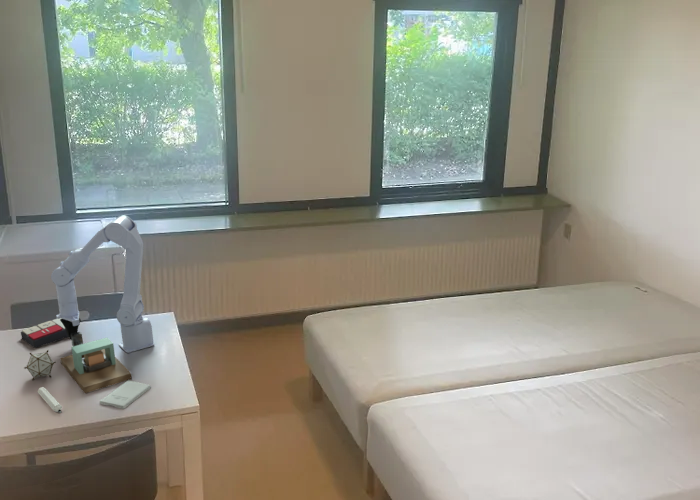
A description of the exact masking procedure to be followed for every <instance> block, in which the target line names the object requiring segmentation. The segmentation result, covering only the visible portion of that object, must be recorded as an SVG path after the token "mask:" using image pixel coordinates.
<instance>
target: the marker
mask: <svg viewBox="0 0 700 500" xmlns="http://www.w3.org/2000/svg"><path fill="white" fill-rule="evenodd" d="M37 393H38V395H40V397H41V398H42V399H43V401H45V402H46V404H47V405H48V406H49V407H50V409H51V410H52V411H54V412H56V413H59V414H61V413H62V408H63V406H62V405H61V404H60V403H59V401H57V399H56V398H55V397H54V396H53V395H52V394H51V393H50V392H49V391H48V389H46V388H45V387H44V386H42V387H39V388H38V390H37Z"/></svg>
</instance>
